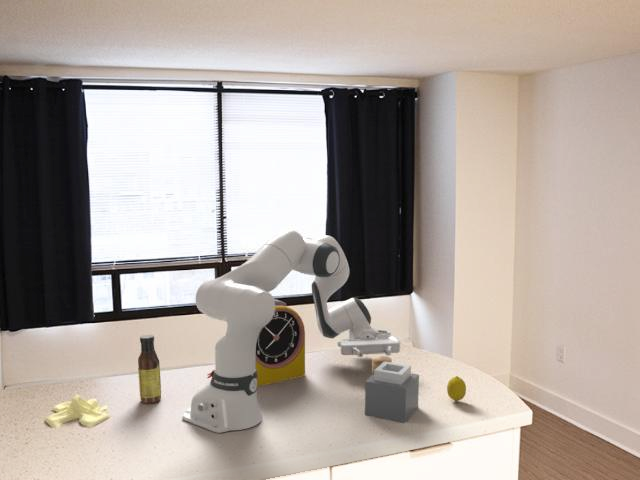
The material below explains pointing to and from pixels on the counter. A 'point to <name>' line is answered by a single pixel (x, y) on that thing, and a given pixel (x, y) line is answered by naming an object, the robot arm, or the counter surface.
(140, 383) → the sauce bottle
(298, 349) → the alarm clock
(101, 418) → the pale yellow lumpy piece
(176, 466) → the counter surface
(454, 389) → the lemon
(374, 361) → the stopper
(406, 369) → the grey box with opening
